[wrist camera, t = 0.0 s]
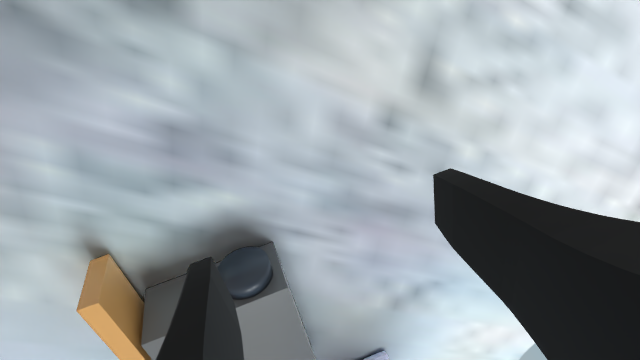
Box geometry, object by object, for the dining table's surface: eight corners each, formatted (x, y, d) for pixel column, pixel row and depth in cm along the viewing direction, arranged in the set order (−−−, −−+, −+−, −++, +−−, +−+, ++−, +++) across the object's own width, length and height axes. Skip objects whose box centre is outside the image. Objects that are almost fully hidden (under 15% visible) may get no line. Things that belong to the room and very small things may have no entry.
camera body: (312, 348, 31) (330, 404, 27) (213, 390, 30) (219, 454, 26) (268, 230, 24) (286, 283, 20) (136, 278, 22) (128, 345, 19)
